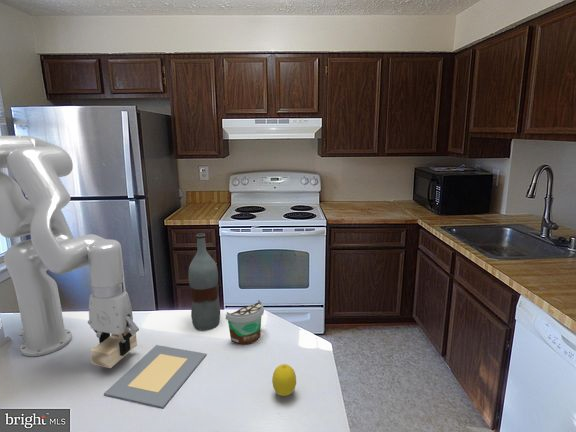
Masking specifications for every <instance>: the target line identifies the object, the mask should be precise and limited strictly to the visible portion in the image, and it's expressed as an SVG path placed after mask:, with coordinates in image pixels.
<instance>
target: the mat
mask: <svg viewBox="0 0 576 432" xmlns="http://www.w3.org/2000/svg"><path fill="white" fill-rule="evenodd" d="M207 355H208V353H205V352H199V351H195V350H194V351H193V350H188V349H181V348H176V347H171V346H170V347H169V346H164V345H158V344H156V345H154V346H153V347H152V348H150V350H149V351H147V353H146V354H145V355H144V356H142V357H141V358H140V359H139V360H138V361H137V362H136V363H135V364H134V365H133V366H132V367H131V368H130V369H128V370H127V371H126V372H125V373H124V374H123V375H122V376H121V377H120V378H119V379H118V380H116V382H114V383H113V384H112V385H111V386H110V387H109V388H108V389H107V390H106V391H104V393H103V396H106V397H110V398H114V399H118V400H123V401H128V402H132V403H137V404H140V405H145V406H150V407H154V408H159V409H163V410H164V408H165V407H166V406H167V405H168V404H169V403H170V401H171V400H172V399H173V397H174V396H175V395H176V394H177V393H178V392H179V390H180V389H181V388H182V387H183V385H184V384H185V383H186V381H187V380H188V379H189V378H190V376H191V375H193V373H194V372H195V371H196V369H197V368H198V366H200V364H201V363H202V361H203V360H204V359H205V358H206V357H207Z"/></svg>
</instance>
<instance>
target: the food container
mask: <svg viewBox="0 0 576 432" xmlns="http://www.w3.org/2000/svg"><path fill="white" fill-rule="evenodd" d="M264 314H265V309H264V306H263V304H262V301H261V300H259V299H258V300H257V302H256V303H254V304H252V305H248V306H244V307H241V308H239V309H238V310H236V311H233V312H232V313H231V312H229V311H226V314H225V320H226V321H227V322H228V323H227V324H228V330H229V336H230V342H231V343H233V344H235V345H239V346H248V345H249V346H250V345H252V344H254V343H256V342H257V341H259V339H260V338H261V329H262V328H261V327H262V316H264Z"/></svg>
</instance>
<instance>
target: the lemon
mask: <svg viewBox="0 0 576 432" xmlns="http://www.w3.org/2000/svg"><path fill="white" fill-rule="evenodd" d="M271 382H272V387H273V389H274V391H275V392H276V393H277V395H279V396H282V397H287V396H289V395H291V394H292V393H293V392H294V391H295V388H296V385H297V375H296V372H295V370H294V368H293V367H292V366H291V365H288V364H284V363H283V364H282V363H281V364H279V365H278V366H277V367H275V369H274V371H273V374H272V381H271Z"/></svg>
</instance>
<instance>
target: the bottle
mask: <svg viewBox="0 0 576 432" xmlns="http://www.w3.org/2000/svg"><path fill="white" fill-rule="evenodd" d="M195 236H196V246H197V247H196V248H197V250H196V251H197V252H196V253H195V254H194V257H193V258H192V260H191V262H190V264H189V267H188V275H187V276H188V278H187V279H188V283H189V289H190V296H191V311H190V317H191V322H192V325H193V327H194V329H196V330H197V331H209V330H213V329H215V328H216V327H218V326H219V323H220V319H221V305H220V302H219V301H220V300H219V297H218V296H219V295H218V293H219V292H218V291H219V290H218V289H219V271H218V270H219V269H218V265H217V263H216V261H215V260H214V258H212V256H211V255H210V254H209V252H208V251H207V247H206V234H205V233H197V234H196V235H195Z"/></svg>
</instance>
